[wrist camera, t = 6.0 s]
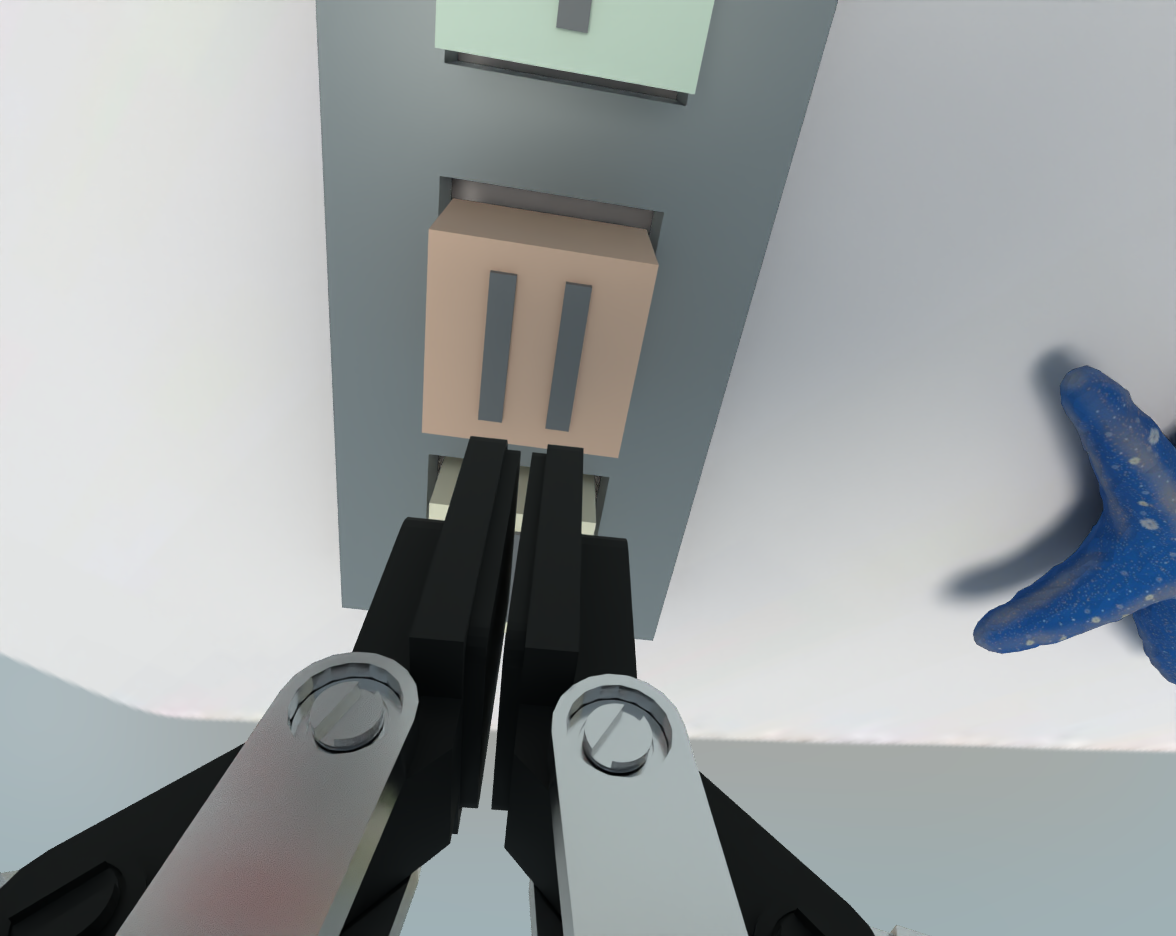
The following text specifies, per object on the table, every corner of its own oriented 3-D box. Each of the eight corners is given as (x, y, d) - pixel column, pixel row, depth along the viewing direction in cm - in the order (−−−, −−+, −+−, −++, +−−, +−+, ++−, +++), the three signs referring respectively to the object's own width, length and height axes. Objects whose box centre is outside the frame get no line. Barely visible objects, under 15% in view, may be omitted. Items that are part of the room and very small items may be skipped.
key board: (878, -240, 18) (918, -278, 16) (648, 602, 34) (652, 640, 32) (333, -366, 17) (297, -424, 15) (357, 570, 32) (342, 607, 30)
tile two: (646, 229, 21) (659, 267, 18) (613, 400, 25) (618, 461, 21) (453, 198, 21) (427, 230, 17) (444, 376, 24) (420, 435, 20)
